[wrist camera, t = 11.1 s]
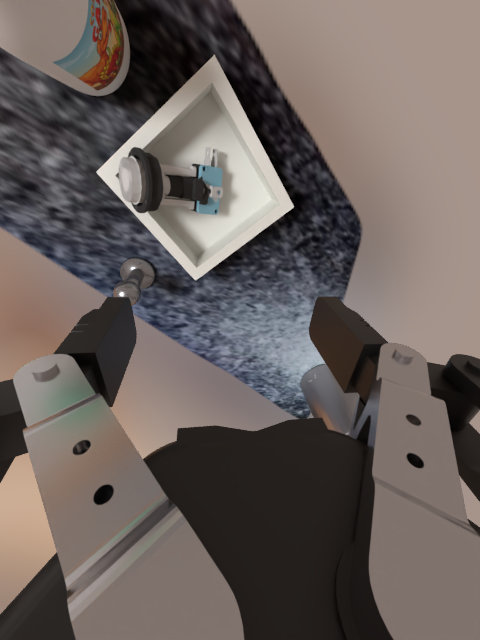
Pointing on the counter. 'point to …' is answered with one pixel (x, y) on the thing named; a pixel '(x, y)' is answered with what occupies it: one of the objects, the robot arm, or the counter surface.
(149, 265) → the ball stud post
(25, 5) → the milk bottle
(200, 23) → the counter surface
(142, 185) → the push button
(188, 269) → the bin
